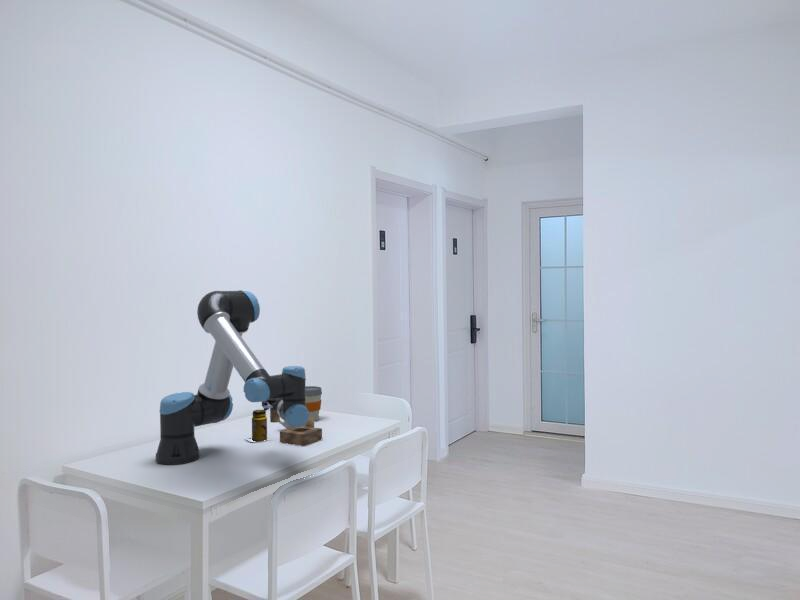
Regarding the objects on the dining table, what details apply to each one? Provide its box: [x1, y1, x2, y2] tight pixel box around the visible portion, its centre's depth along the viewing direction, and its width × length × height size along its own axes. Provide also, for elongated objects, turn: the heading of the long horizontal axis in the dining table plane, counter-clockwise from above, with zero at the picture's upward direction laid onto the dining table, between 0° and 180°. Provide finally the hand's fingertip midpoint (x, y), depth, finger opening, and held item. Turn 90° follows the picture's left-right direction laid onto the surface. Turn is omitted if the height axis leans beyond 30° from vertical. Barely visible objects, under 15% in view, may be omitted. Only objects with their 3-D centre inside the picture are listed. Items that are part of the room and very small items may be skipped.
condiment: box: [248, 409, 268, 442], centre depth 249 cm, size 7×8×12 cm
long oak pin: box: [269, 398, 281, 424], centre depth 229 cm, size 4×4×14 cm
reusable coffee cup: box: [305, 385, 323, 422], centre depth 287 cm, size 13×13×15 cm
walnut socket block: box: [279, 426, 323, 447], centre depth 247 cm, size 12×12×4 cm
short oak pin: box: [306, 417, 315, 428], centre depth 259 cm, size 4×4×7 cm
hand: (271, 397), depth 234 cm, fingers closed on long oak pin, 3 cm apart
